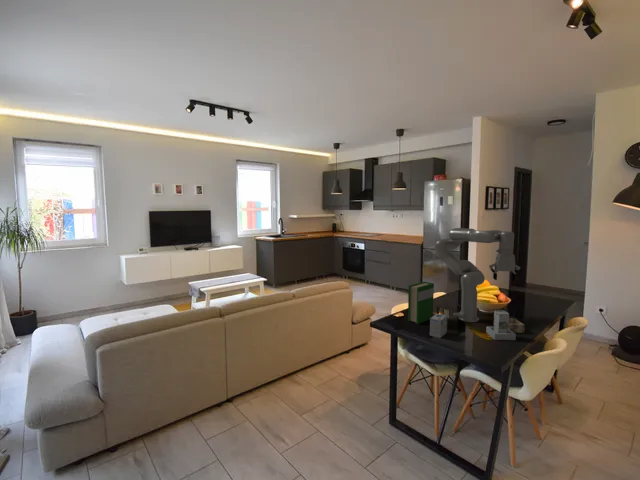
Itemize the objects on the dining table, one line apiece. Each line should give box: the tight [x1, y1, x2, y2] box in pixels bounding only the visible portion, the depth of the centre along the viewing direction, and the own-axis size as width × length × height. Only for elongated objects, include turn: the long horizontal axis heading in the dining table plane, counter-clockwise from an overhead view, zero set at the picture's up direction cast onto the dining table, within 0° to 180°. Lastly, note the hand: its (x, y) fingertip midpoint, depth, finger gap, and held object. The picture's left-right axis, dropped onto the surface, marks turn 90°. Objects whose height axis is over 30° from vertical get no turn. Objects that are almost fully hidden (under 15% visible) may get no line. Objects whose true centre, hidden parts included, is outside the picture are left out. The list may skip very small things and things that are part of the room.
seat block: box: [485, 326, 517, 341], centre depth 193 cm, size 11×11×4 cm
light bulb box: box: [429, 313, 448, 339], centre depth 197 cm, size 11×7×11 cm, turn 141°
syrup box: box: [492, 310, 510, 333], centre depth 193 cm, size 6×6×14 cm
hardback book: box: [407, 281, 435, 325], centre depth 221 cm, size 18×7×24 cm, turn 129°
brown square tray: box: [508, 317, 526, 334], centre depth 204 cm, size 11×11×5 cm
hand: (503, 279), depth 202 cm, fingers open, 9 cm apart
